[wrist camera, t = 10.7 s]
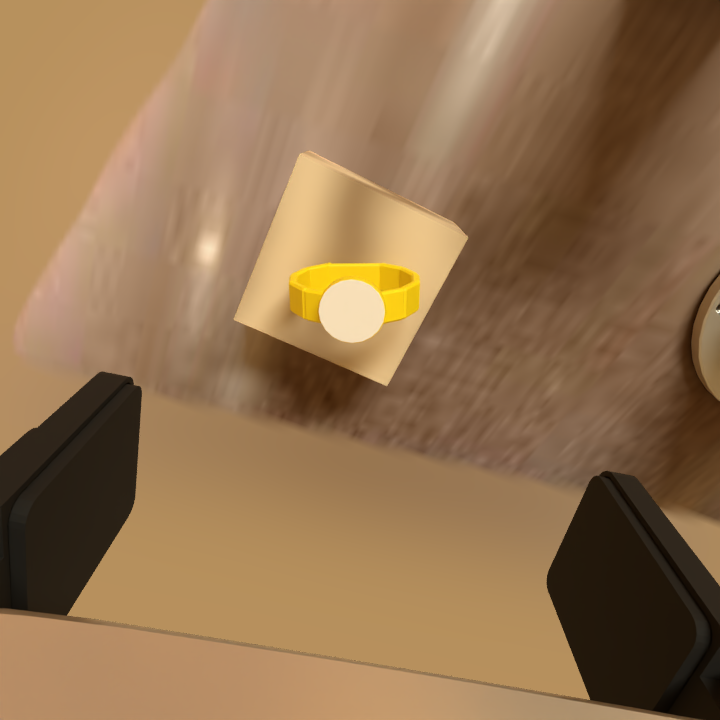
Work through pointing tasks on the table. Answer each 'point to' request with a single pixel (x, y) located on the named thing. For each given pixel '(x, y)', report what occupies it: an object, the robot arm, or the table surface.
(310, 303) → the watch
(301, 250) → the wood block
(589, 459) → the table surface
